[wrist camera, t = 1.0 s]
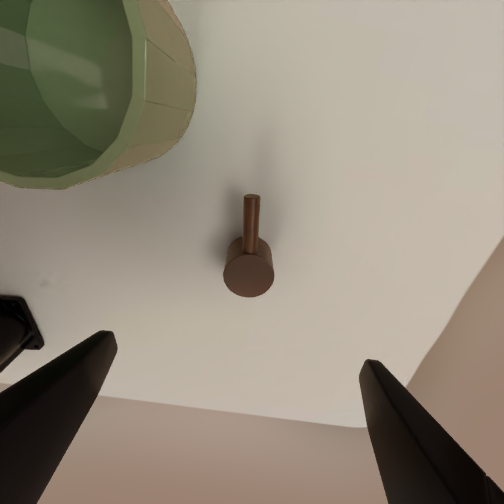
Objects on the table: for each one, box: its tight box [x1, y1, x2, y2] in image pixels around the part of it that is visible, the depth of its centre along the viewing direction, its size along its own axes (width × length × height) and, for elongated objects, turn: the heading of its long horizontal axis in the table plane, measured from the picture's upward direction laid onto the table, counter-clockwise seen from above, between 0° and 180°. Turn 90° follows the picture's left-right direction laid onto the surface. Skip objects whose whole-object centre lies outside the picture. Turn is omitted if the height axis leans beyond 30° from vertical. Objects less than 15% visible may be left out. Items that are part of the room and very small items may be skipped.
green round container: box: [0, 0, 196, 190], centre depth 12 cm, size 10×10×8 cm
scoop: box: [223, 194, 274, 297], centre depth 19 cm, size 8×4×3 cm, turn 178°
